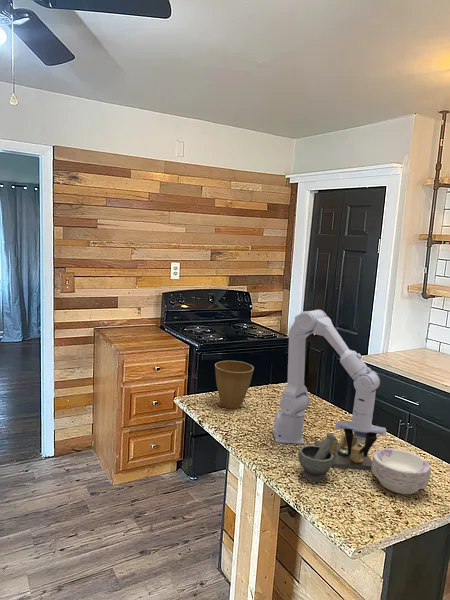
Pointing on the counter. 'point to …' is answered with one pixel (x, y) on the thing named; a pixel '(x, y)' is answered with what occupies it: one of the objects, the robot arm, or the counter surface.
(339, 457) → the base plate
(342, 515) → the counter surface
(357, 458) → the knob near
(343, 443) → the knob far
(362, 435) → the pill bottle
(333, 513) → the counter surface
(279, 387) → the counter surface
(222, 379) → the plant pot
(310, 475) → the mortar and pestle
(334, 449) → the knob left
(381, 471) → the paper bowls
